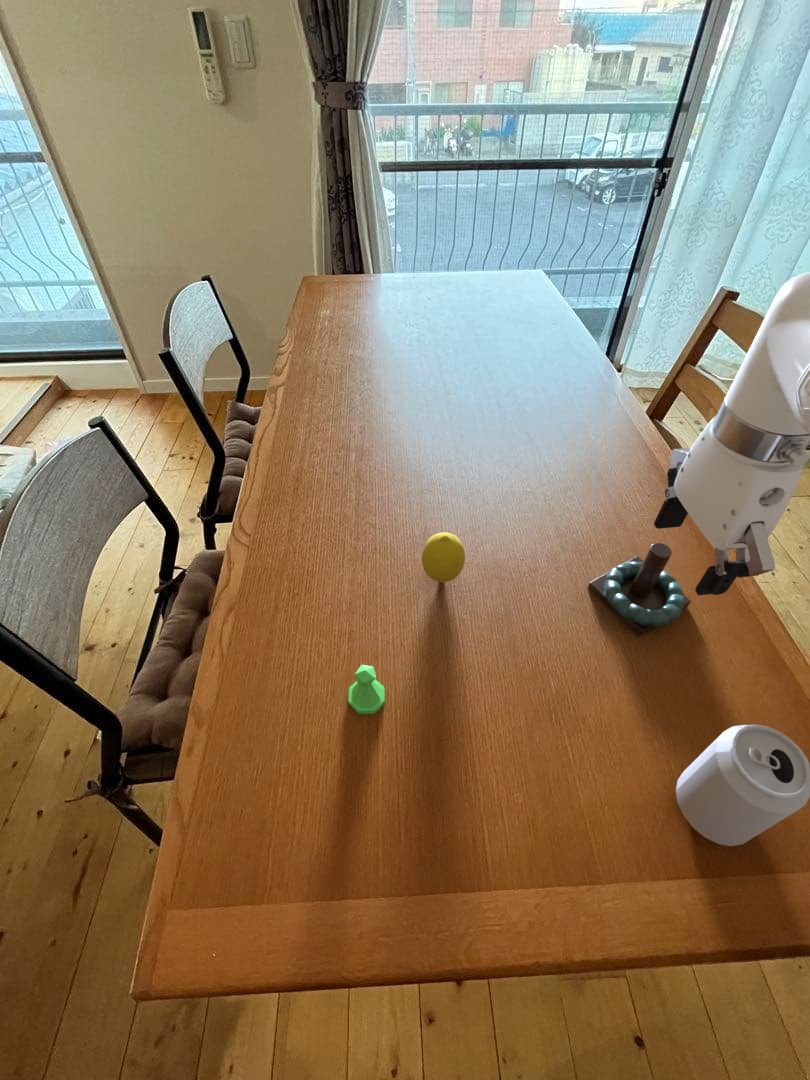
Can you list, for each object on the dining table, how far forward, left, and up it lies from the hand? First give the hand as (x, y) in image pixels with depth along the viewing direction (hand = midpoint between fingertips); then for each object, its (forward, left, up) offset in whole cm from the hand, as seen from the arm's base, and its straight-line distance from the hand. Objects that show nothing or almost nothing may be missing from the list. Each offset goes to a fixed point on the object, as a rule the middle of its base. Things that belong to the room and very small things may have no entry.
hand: (686, 557), depth 61 cm
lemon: (+20, +18, -12) cm, 30 cm away
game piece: (+10, +35, -12) cm, 39 cm away
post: (+4, -2, -12) cm, 13 cm away
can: (-18, +12, -12) cm, 25 cm away
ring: (+3, -1, -10) cm, 10 cm away
